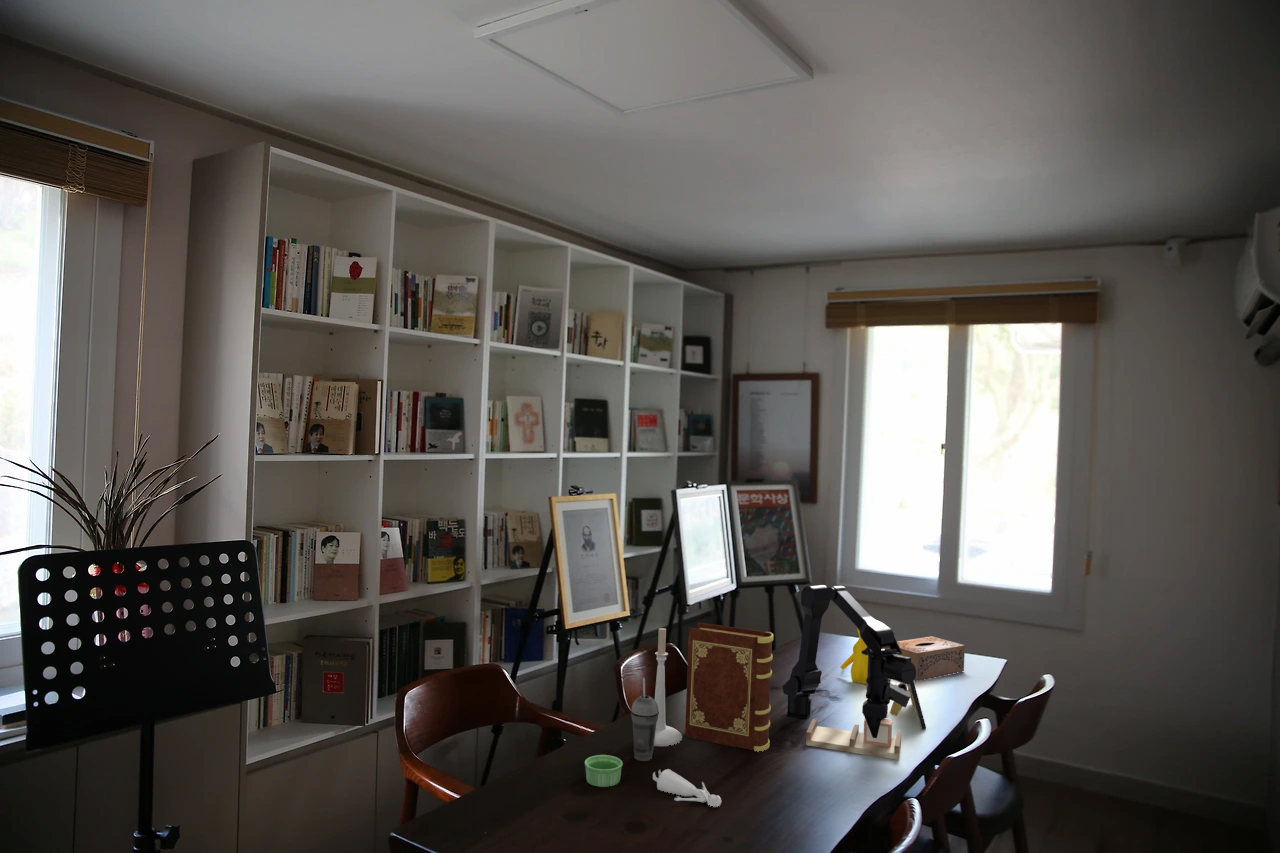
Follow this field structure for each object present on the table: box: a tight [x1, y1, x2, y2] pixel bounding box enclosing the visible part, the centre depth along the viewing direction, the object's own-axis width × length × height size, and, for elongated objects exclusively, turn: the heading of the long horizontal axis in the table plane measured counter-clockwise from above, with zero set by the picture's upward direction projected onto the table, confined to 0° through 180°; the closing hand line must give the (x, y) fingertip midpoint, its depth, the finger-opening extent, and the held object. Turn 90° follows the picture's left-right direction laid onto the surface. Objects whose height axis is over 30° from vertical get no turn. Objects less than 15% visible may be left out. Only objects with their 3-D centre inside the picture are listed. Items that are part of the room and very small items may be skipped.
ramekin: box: [584, 754, 624, 788], centre depth 199 cm, size 9×9×4 cm
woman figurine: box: [652, 768, 722, 808], centre depth 192 cm, size 12×4×18 cm
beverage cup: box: [630, 677, 659, 762], centre depth 214 cm, size 7×7×20 cm
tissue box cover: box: [884, 636, 966, 682], centre depth 303 cm, size 26×14×10 cm, turn 122°
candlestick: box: [654, 627, 683, 747], centre depth 228 cm, size 13×13×30 cm
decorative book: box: [684, 622, 774, 753], centre depth 228 cm, size 22×8×30 cm, turn 65°
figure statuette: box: [839, 627, 868, 685], centre depth 286 cm, size 18×8×22 cm, turn 57°
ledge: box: [805, 718, 903, 761], centre depth 228 cm, size 24×12×4 cm, turn 70°
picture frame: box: [889, 681, 927, 731], centre depth 254 cm, size 23×9×15 cm, turn 168°
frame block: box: [863, 718, 893, 747], centre depth 226 cm, size 7×4×6 cm, turn 70°
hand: (876, 732), depth 226 cm, fingers open, 9 cm apart
